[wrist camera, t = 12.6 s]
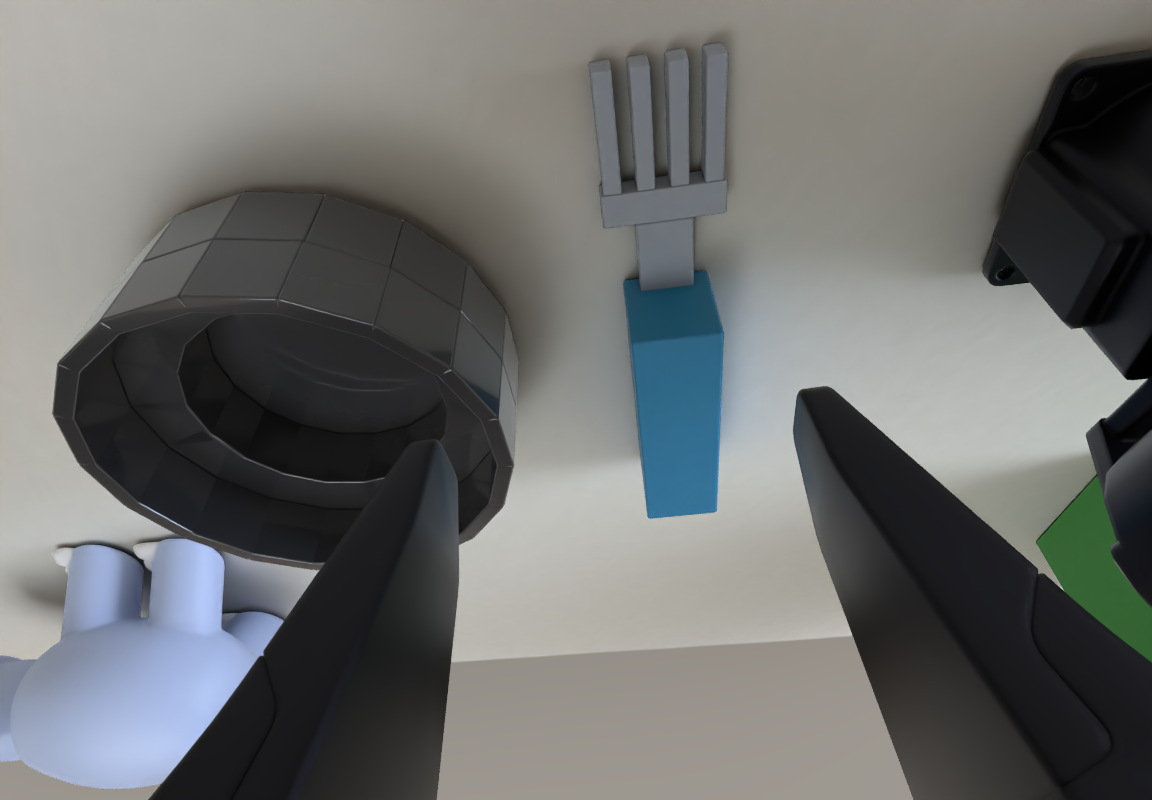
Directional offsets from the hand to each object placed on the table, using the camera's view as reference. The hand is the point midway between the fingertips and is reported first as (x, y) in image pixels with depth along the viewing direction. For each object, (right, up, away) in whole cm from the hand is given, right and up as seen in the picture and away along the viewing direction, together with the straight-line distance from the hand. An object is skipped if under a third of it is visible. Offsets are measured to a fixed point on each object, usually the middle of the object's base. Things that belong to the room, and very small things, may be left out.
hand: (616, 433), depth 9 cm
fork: (+2, +4, +12) cm, 12 cm away
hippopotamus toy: (-22, -10, +25) cm, 35 cm away
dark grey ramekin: (-9, +2, +13) cm, 16 cm away
